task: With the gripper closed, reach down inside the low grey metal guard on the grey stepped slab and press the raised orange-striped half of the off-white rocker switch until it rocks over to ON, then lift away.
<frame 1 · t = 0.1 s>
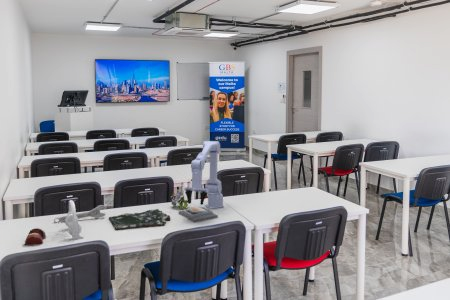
hand: (195, 203, 239), 10 cm above the table, tool pointing down, fingers open, 7 cm apart
grey figurine: (73, 234, 219), on the table
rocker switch: (197, 209, 251), point 4 cm above the table, hinge at -12.0°
passion flower: (180, 207, 268), on the table
dark brown rounded lump: (35, 242, 208), on the table
topographical map: (141, 222, 240), on the table
grey stepped slab: (197, 215, 251), on the table
wrench: (81, 221, 242), on the table
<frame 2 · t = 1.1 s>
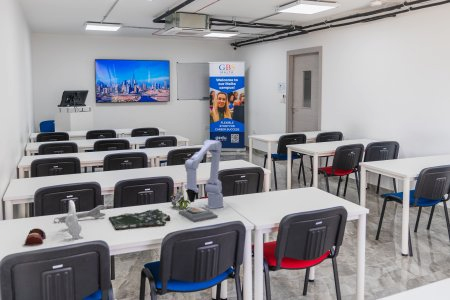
hand: (191, 201, 248), 9 cm above the table, tool pointing down, fingers closed
nothing on the table moved.
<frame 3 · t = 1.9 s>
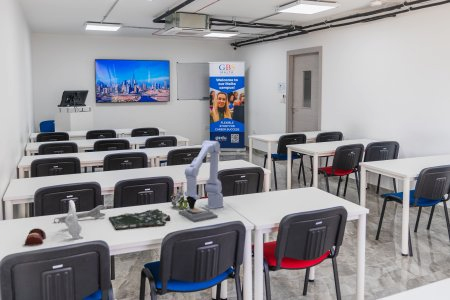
hand: (191, 208, 248), 5 cm above the table, tool pointing down, fingers closed, pressing on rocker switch
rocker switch: (197, 209, 251), point 4 cm above the table, hinge at -11.6°, touching gripper
everything else where it was.
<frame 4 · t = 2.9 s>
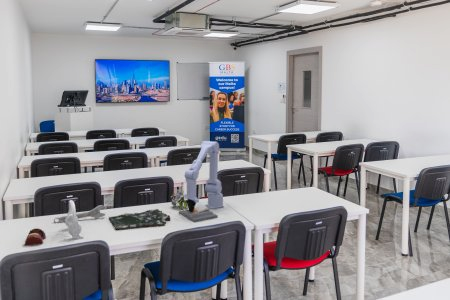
hand: (191, 211, 248), 3 cm above the table, tool pointing down, fingers closed, pressing on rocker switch
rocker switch: (197, 210, 251), point 4 cm above the table, hinge at 14.3°, touching gripper
everything else where it was.
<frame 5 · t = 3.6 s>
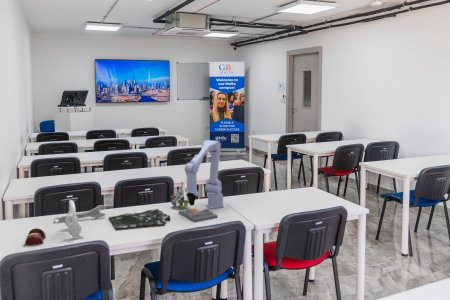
hand: (191, 205, 248), 7 cm above the table, tool pointing down, fingers closed
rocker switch: (197, 210, 251), point 4 cm above the table, hinge at 15.2°, touching grey stepped slab
everything else where it was.
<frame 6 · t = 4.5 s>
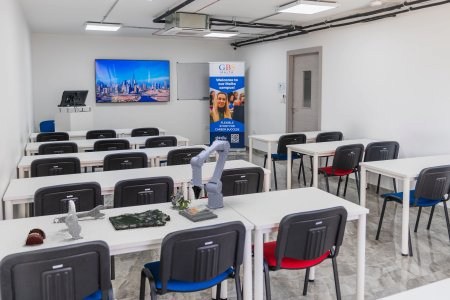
hand: (197, 197, 256), 9 cm above the table, tool pointing down, fingers closed
nothing on the table moved.
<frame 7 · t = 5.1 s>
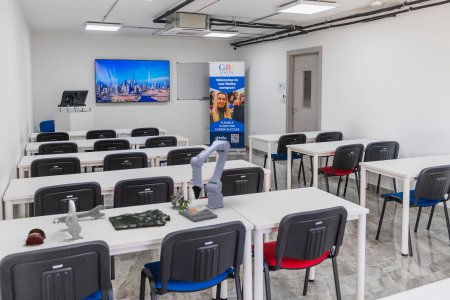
hand: (197, 197, 256), 9 cm above the table, tool pointing down, fingers closed
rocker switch: (197, 210, 251), point 4 cm above the table, hinge at 15.1°
everything else where it was.
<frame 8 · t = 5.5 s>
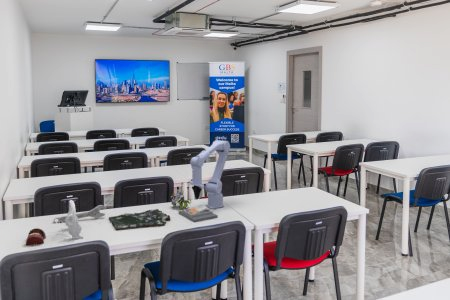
hand: (197, 197, 256), 9 cm above the table, tool pointing down, fingers closed
nothing on the table moved.
at the end: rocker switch at +15° (first picture: -12°); passion flower moved 0.3 cm from its start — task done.
